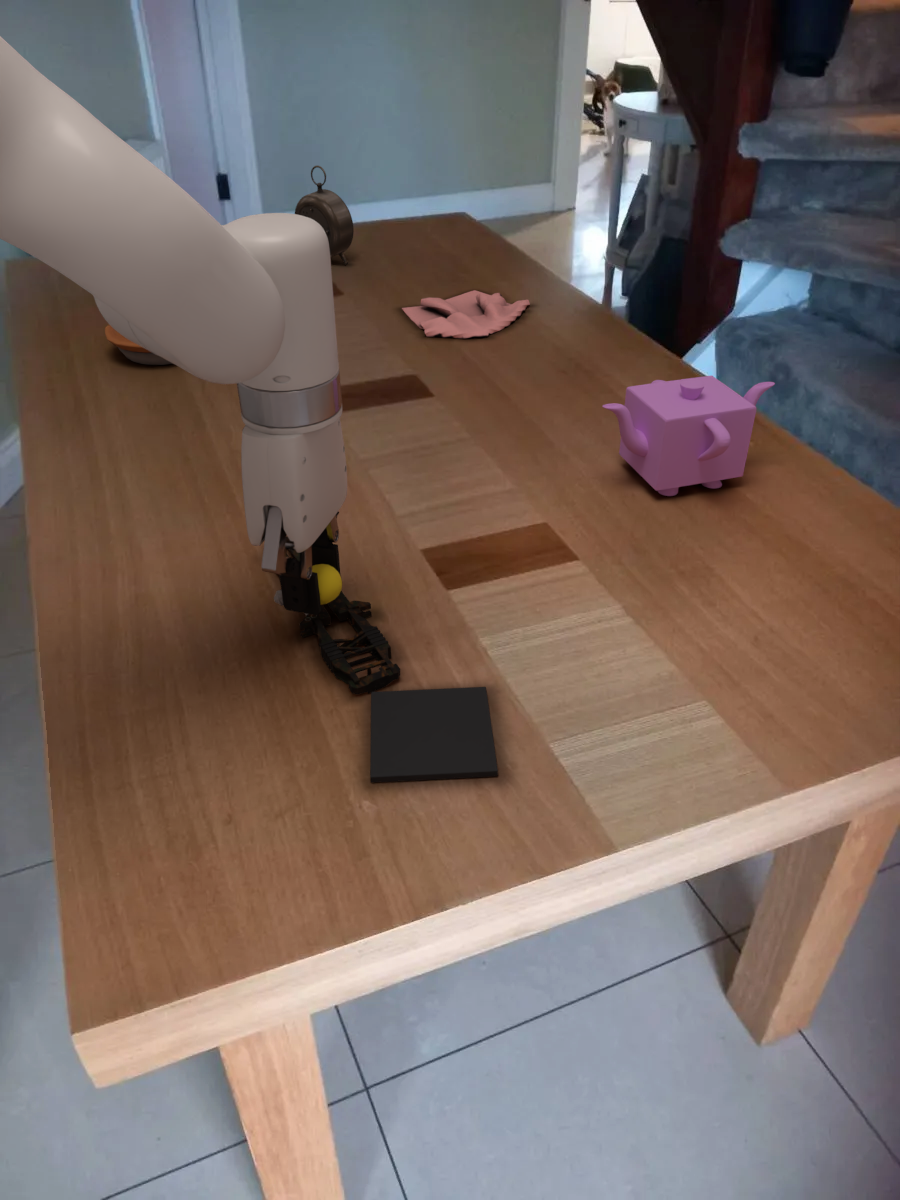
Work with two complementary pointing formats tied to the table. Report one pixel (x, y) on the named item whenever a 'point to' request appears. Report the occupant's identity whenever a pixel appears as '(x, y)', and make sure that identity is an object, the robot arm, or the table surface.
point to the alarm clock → (329, 216)
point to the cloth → (465, 315)
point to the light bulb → (322, 584)
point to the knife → (352, 644)
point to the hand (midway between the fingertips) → (313, 594)
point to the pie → (133, 349)
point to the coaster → (431, 735)
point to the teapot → (686, 431)
